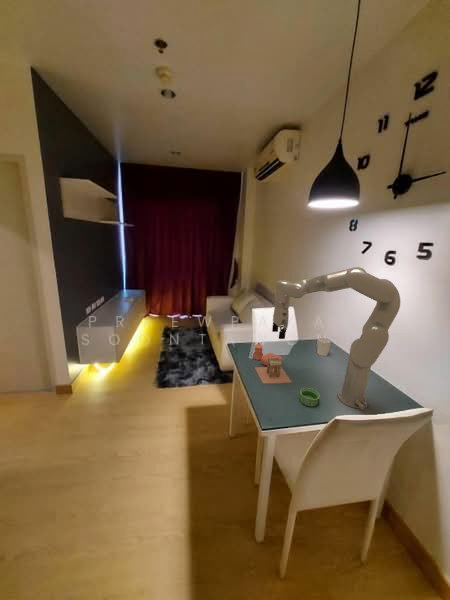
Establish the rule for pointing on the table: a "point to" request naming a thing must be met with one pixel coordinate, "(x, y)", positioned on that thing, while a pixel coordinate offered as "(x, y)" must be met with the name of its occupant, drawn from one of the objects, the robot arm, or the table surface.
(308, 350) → the table surface
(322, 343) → the white cup
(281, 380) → the mat
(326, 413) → the table surface
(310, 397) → the ramekin
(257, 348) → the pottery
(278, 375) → the stool
